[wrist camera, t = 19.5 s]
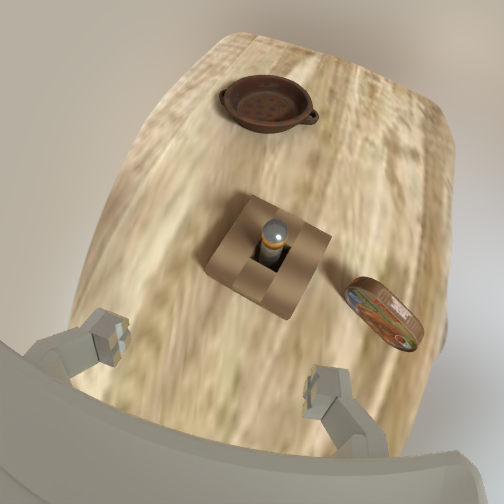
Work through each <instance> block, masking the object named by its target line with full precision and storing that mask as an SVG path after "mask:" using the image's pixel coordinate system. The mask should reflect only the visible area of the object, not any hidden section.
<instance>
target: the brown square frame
mask: <svg viewBox="0 0 504 504" xmlns="http://www.w3.org/2000/svg"><path fill="white" fill-rule="evenodd" d="M272 219H279V220H281V221H283V222H284V223H285V224H286V225H287V227H288V237H287V240H286V243H285V245H284V246H283V249H282V252H283V253H285V254H286V255H287V256H286V258H285V260H284V262H283V263H282V265H281V267H280V269H279V270H278V272H277V273H276V272H274V271H272V270H271V269H269V268H267V267H265V266H263V265H261V264H260V263H258V262H256V261H254V260H252V259H253V257H254V256H255V254H256V252H257V251H258V249H259V247H260V246H261V242H262V240H261V236H262V229H263V227H264V225H265V224H266V223H267V222H268V221H269V220H272ZM331 238H332V236H330V235H328V234H327V233H325V232H323V231H321V230H319V229H317V228H316V227H314V226H312V225H310V224H308V223H306V222H304V221H303V220H301V219H299V218H297V217H295V216H293V215H291V214H289V213H287V212H285V211H284V210H282V209H280V208H278V207H276V206H274V205H272V204H270V203H268V202H266V201H264V200H262V199H260V198H258V197H256V196H254V195H252V197H251V198H250V200H249V201H248V203H247V204H246V206H245V207H244V209H243V210H242V212H241V213H240V215H239V216H238V218H237V219H236V221H235V222H234V224H233V225H232V227H231V228H230V230H229V231H228V233H227V234H226V236H225V237H224V239H223V240H222V242H221V243H220V245H219V247H218V248H217V250H216V251H215V253H214V254H213V256H212V257H211V259H210V260H209V262H208V264H207V265H206V267H205V268H204V270H205V271H206V273H207V275H208V276H209V277H211V278H212V279H214V280H216V281H218V282H219V283H221V284H223V285H224V286H226V287H228V288H230V289H231V290H233V291H235V292H236V293H238V294H240V295H242V296H243V297H245V298H247V299H249V300H251V301H252V302H254V303H256V304H258V305H259V306H261V307H263V308H265V309H267V310H268V311H270V312H272V313H274V314H276V315H277V316H279V317H281V318H283V319H285V320H288V319H289V318H290V317H291V316H292V314H293V312H294V310H295V308H296V306H297V305H298V303H299V301H300V299H301V297H302V295H303V293H304V291H305V289H306V288H307V286H308V284H309V282H310V280H311V278H312V276H313V274H314V272H315V270H316V268H317V266H318V264H319V262H320V260H321V258H322V256H323V254H324V252H325V250H326V248H327V246H328V244H329V242H330V240H331Z"/></svg>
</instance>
